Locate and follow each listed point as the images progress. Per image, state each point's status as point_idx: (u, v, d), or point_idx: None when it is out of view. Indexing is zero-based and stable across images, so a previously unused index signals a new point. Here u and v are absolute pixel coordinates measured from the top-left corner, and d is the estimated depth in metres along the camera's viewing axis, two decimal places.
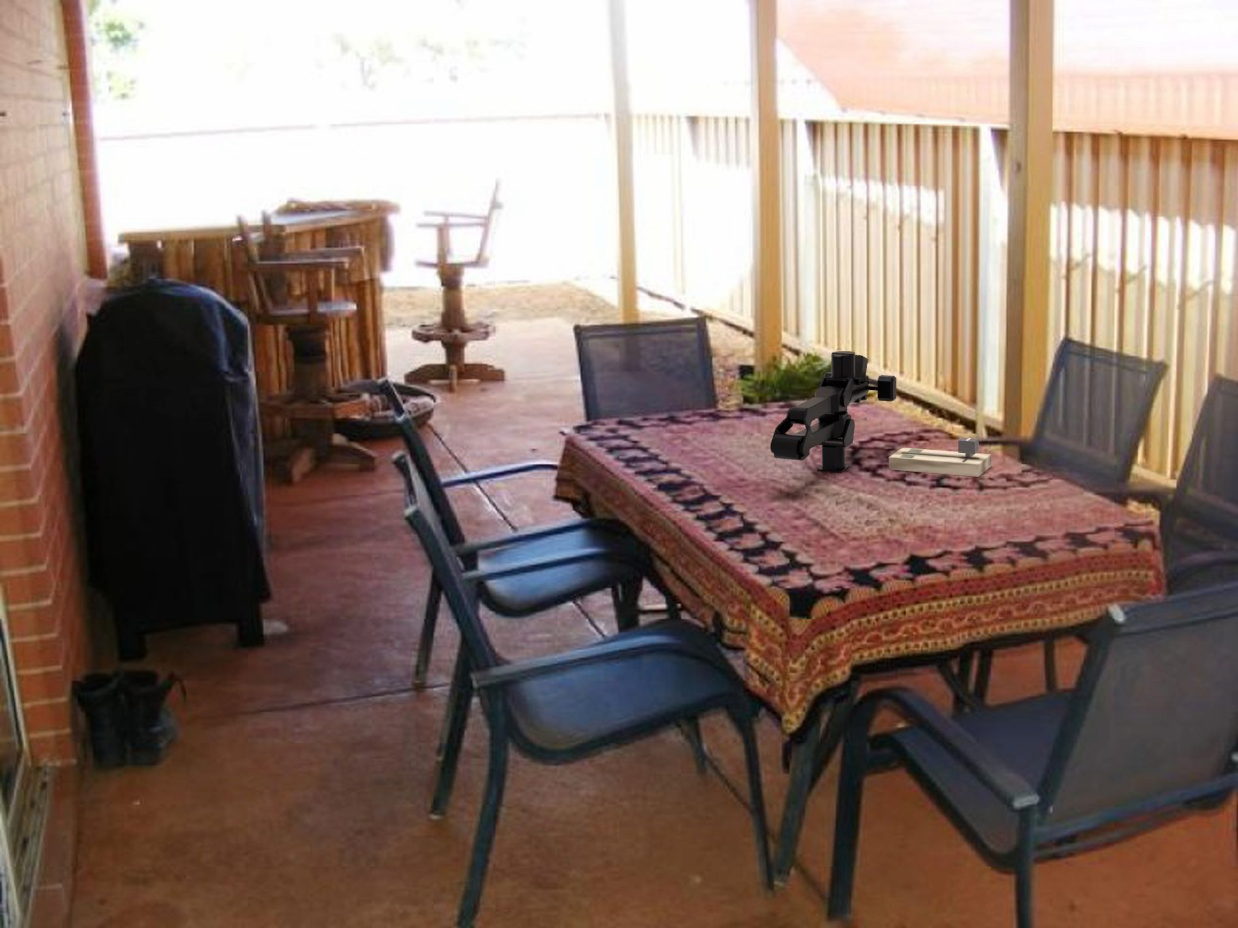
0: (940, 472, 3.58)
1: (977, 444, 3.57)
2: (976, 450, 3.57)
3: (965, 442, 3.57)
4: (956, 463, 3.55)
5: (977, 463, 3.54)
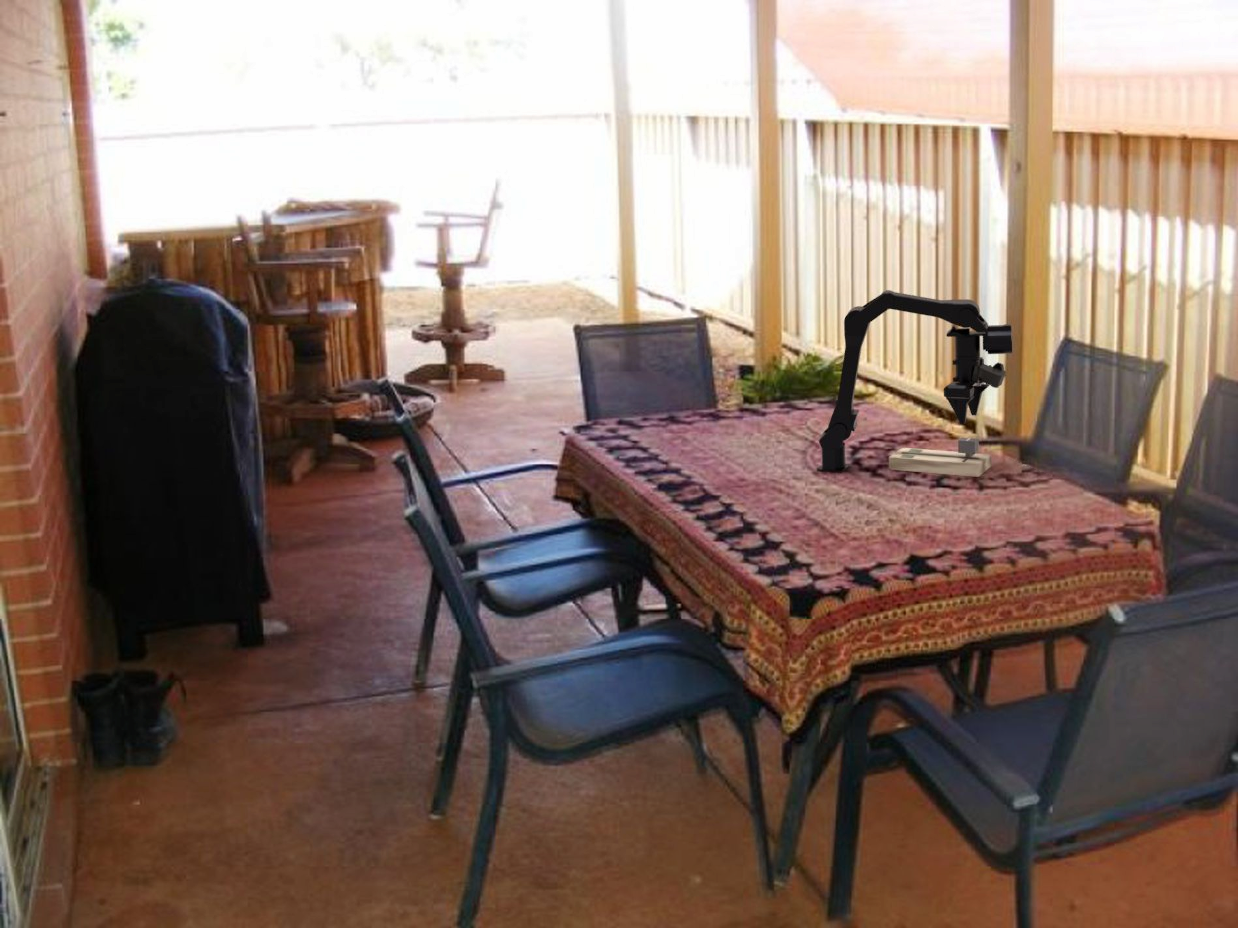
0: (940, 472, 3.58)
1: (977, 444, 3.57)
2: (976, 450, 3.57)
3: (965, 442, 3.57)
4: (956, 463, 3.55)
5: (977, 463, 3.54)
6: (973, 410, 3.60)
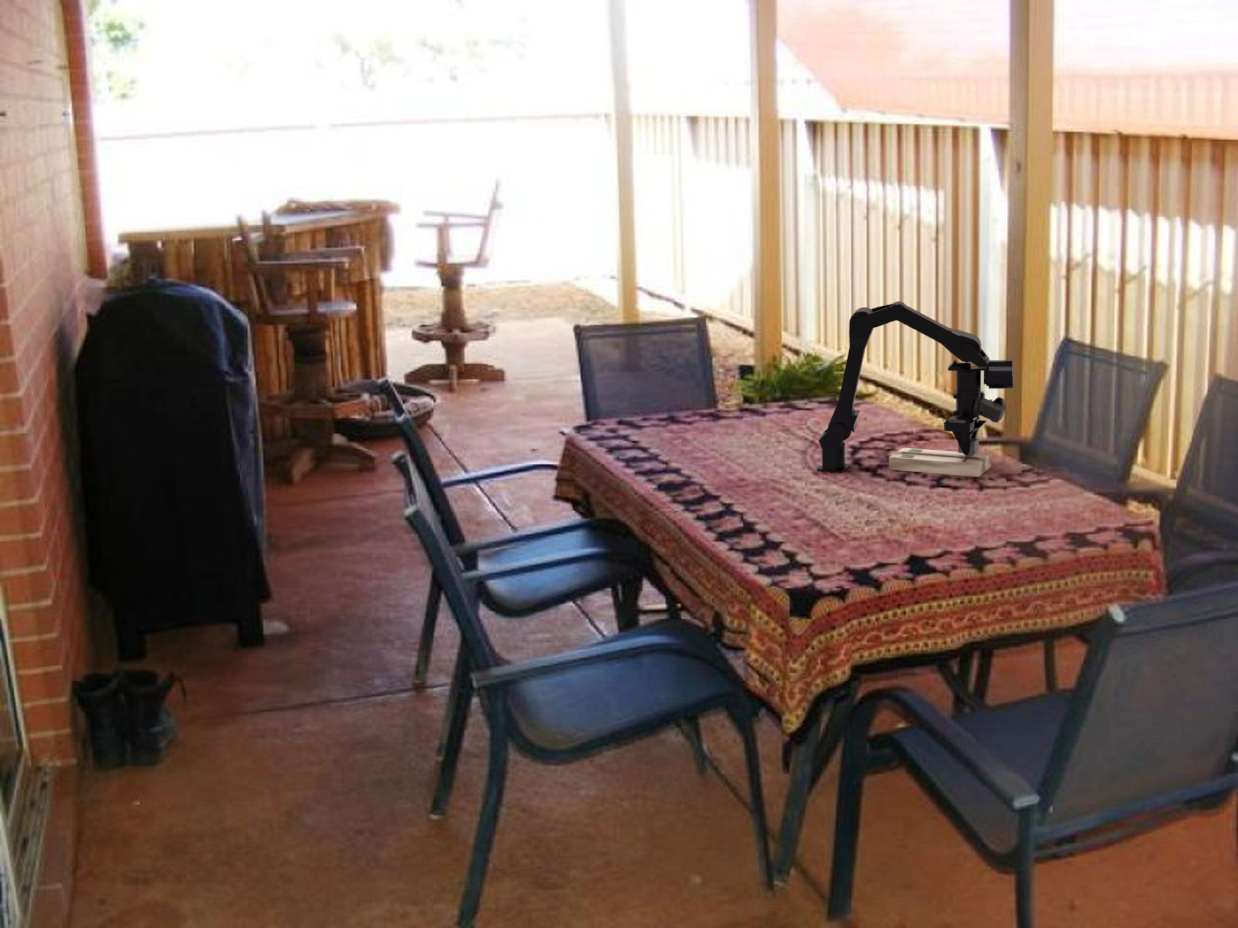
0: (940, 472, 3.58)
1: (977, 444, 3.57)
2: (976, 450, 3.57)
3: None
4: (956, 463, 3.55)
5: (977, 463, 3.54)
6: None
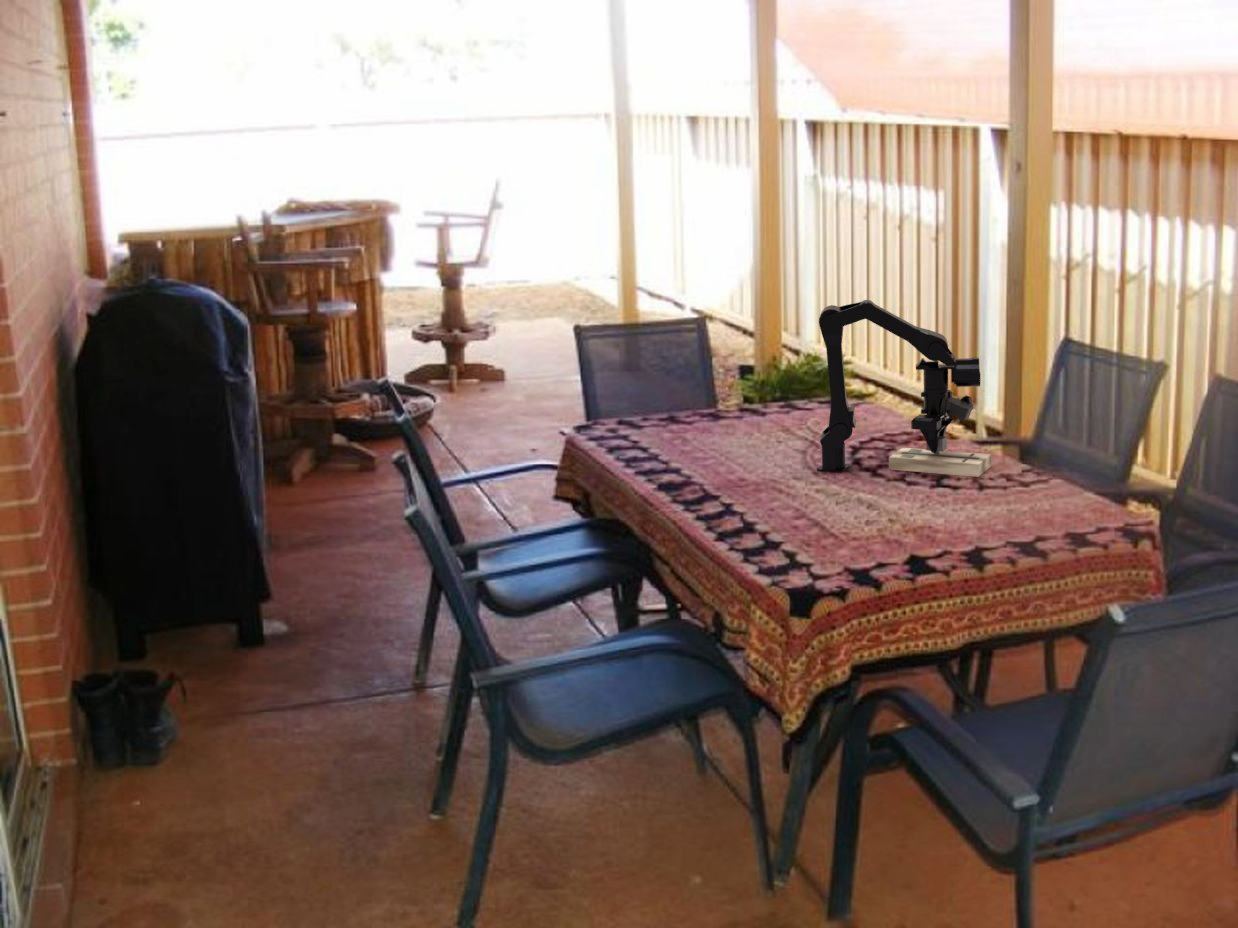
0: (940, 472, 3.58)
1: (945, 441, 3.61)
2: (944, 448, 3.61)
3: None
4: (956, 463, 3.55)
5: (977, 463, 3.54)
6: None
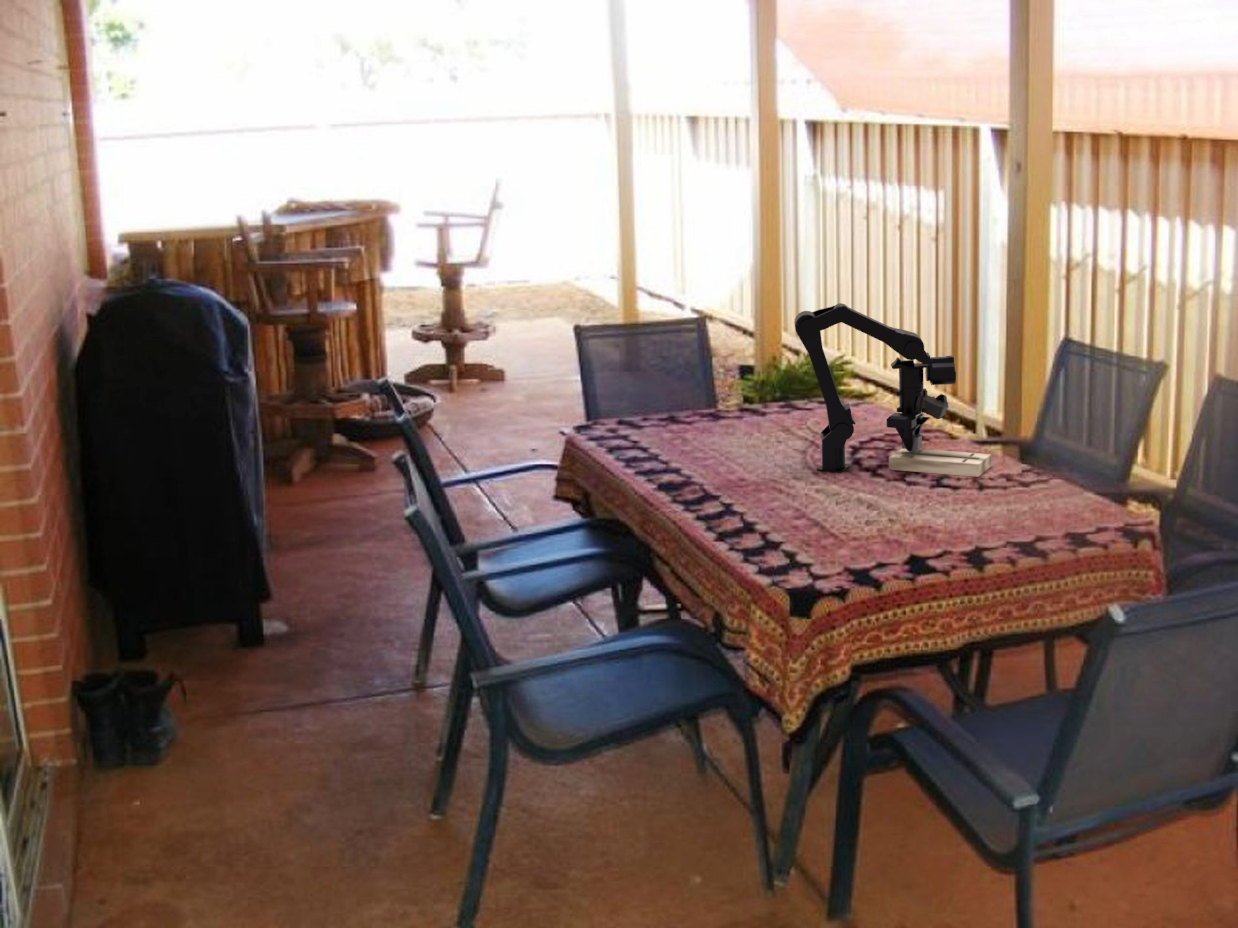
0: (940, 472, 3.58)
1: (920, 439, 3.64)
2: (919, 446, 3.64)
3: None
4: (956, 463, 3.55)
5: (977, 463, 3.54)
6: None
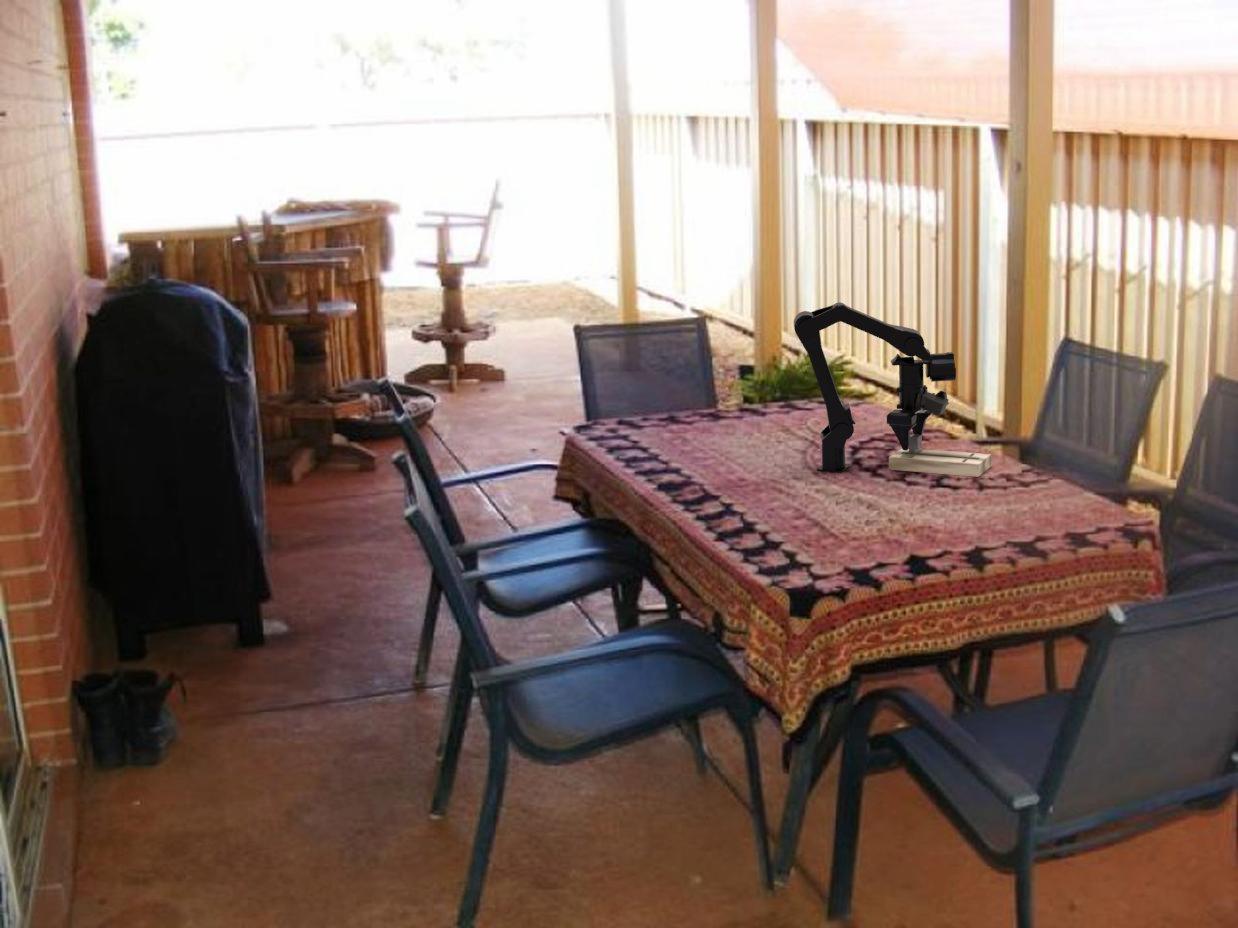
0: (940, 472, 3.58)
1: (920, 439, 3.64)
2: (919, 446, 3.64)
3: None
4: (956, 463, 3.55)
5: (977, 463, 3.54)
6: None
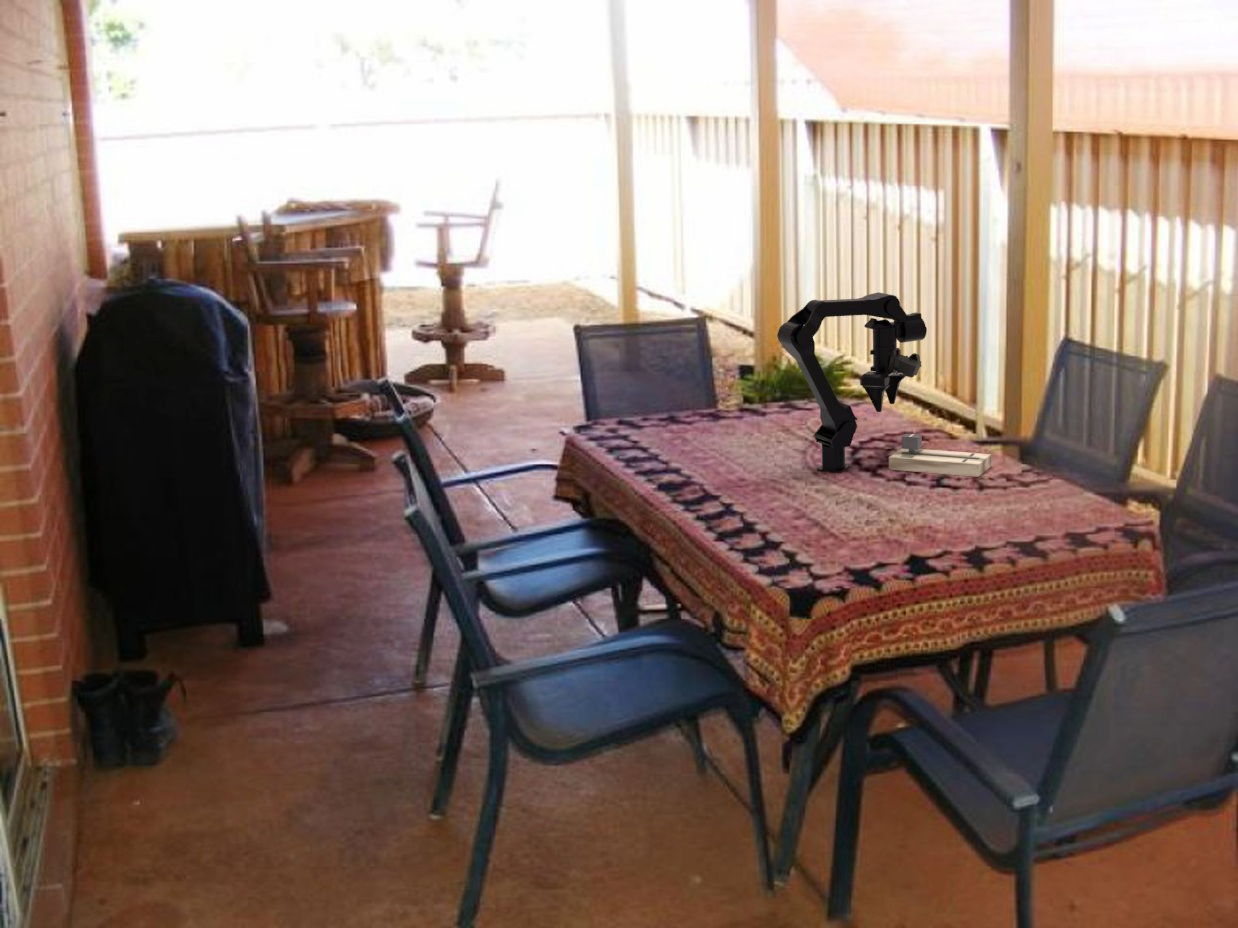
0: (940, 472, 3.58)
1: (920, 439, 3.64)
2: (919, 446, 3.64)
3: (908, 438, 3.63)
4: (956, 463, 3.55)
5: (977, 463, 3.54)
6: (891, 399, 3.74)
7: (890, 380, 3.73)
